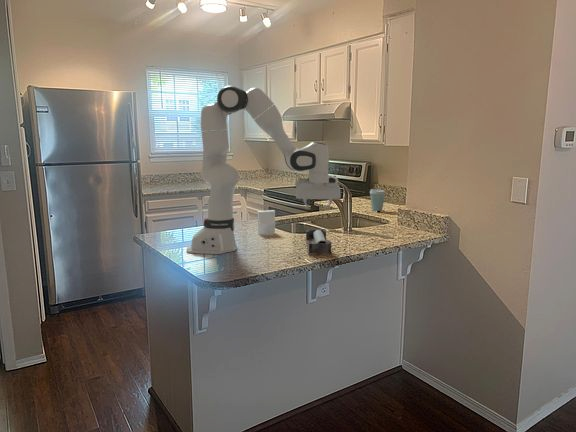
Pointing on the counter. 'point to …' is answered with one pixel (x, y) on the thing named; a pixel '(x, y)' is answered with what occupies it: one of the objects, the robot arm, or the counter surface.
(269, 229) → the white upright block
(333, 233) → the counter surface
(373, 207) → the disposable coffee cup
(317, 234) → the tube
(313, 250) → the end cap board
